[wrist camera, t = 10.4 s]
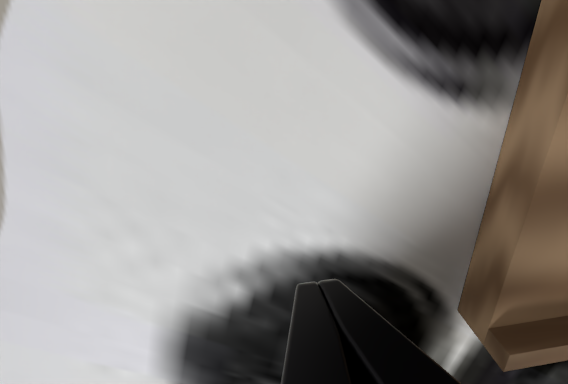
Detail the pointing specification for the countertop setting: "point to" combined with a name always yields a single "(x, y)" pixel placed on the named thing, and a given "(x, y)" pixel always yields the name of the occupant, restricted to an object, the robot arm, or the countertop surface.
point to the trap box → (527, 215)
